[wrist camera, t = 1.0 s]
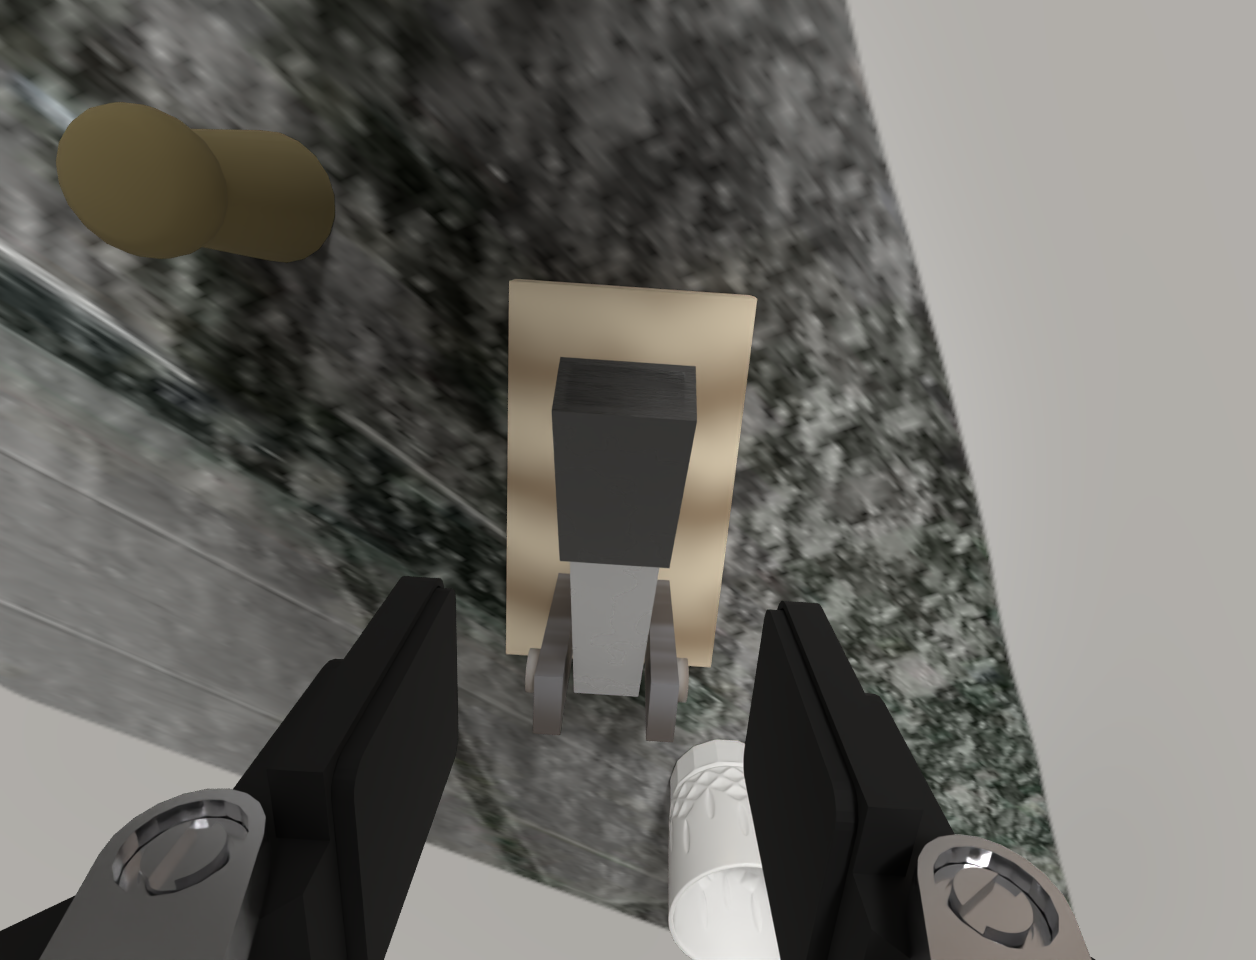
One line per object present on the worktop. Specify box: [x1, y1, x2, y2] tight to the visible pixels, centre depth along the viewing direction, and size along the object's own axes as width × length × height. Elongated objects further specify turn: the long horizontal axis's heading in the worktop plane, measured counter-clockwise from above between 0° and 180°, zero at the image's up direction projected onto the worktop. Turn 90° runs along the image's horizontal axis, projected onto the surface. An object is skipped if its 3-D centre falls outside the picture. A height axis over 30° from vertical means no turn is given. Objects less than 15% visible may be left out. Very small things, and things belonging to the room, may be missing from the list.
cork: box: [56, 102, 335, 263], centre depth 28 cm, size 6×6×11 cm
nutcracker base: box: [506, 279, 757, 742], centre depth 33 cm, size 21×12×12 cm, turn 176°
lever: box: [551, 357, 697, 697], centre depth 25 cm, size 19×4×4 cm
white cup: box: [668, 739, 780, 960], centre depth 40 cm, size 8×8×10 cm
